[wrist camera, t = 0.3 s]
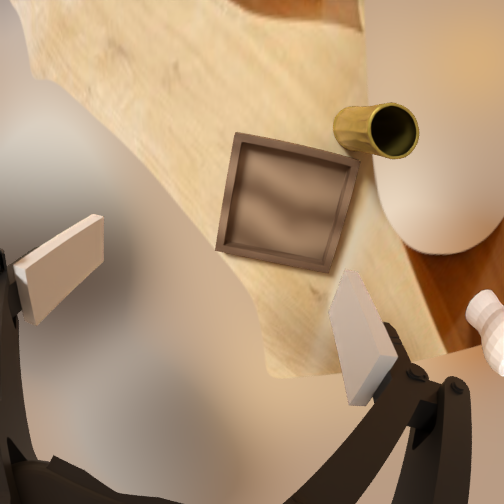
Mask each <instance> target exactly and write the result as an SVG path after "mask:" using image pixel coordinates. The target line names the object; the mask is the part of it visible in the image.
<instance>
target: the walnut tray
mask: <svg viewBox="0 0 504 504" xmlns="http://www.w3.org/2000/svg"><path fill="white" fill-rule="evenodd" d="M359 165H360V161H359V160H357V159H354V158H350V157H347V156H343V155H339V154H335V153H332V152H328V151H324V150H320V149H316V148H312V147H307V146H303V145H299V144H294V143H290V142H285V141H280V140H276V139H271V138H266V137H260V136H255V135H250V134H244V133H238V132H236V133H235V135H234V141H233V146H232V152H231V157H230V163H229V168H228V174H227V180H226V186H225V192H224V198H223V204H222V210H221V216H220V222H219V229H218V235H217V242H216V248H215V251H220V252H224V253H229V254H234V255H239V256H244V257H249V258H254V259H259V260H264V261H269V262H274V263H279V264H284V265H289V266H294V267H299V268H304V269H309V270H314V271H319V272H324V273H329V270H330V267H331V264H332V261H333V258H334V254H335V251H336V248H337V245H338V241H339V238H340V235H341V231H342V228H343V224H344V221H345V218H346V214H347V210H348V207H349V203H350V200H351V196H352V192H353V188H354V185H355V181H356V177H357V173H358V169H359Z"/></svg>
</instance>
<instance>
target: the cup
mask: <svg viewBox="0 0 504 504" xmlns="http://www.w3.org/2000/svg"><path fill="white" fill-rule="evenodd" d="M466 320H467V321H468V322H469V323H470V324H471V325H472V326H473V327H474V328H475V329H477V330H478V332H479V334H480V336H481V341H482V349H483V353H484V356H485V359H486V361H487V362H488V364H489V365H490V367H491V368H492V369H493V370H494V371H496V372H497V373H498V374H499V375H501V376H504V305H502V304H501V303H500V301H499V300H498V298H497V297H496V295H495V294H494V292H492V291H491V290H483V291H481V292H479V293H478V294H477V295H476V296H475V297H474V298H473V299H472V300H471V301H470V303H469V305H468V307H467V310H466Z"/></svg>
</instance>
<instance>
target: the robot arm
mask: <svg viewBox="0 0 504 504" xmlns="http://www.w3.org/2000/svg"><path fill="white" fill-rule="evenodd" d="M103 232H104V216H99V215H95V214H92V215H90V216H89V217H87V218H85V219H83V220H82V221H80V222H78V223H77V224H75V225H73V226H72V227H70V228H68V229H67V230H65V231H63V232H62V233H61V234H59V235H57V236H55V237H54V238H53V239H51V240H49V241H48V242H46V243H44V244H43V245H41V246H39V247H36V248H34V249H32V250H31V251H29V252H28V253H27V254H25V255H23V256H22V257H20V258H19V259H17V260H16V261H15V262H13V263H12V264H10V265H9V266H6V260H5V254H4V250H3V249H0V504H181V503H178V502H174V501H170V500H166V499H163V498H159V497H147V496H137V495H128V494H121V493H117V492H115V491H113V490H112V489H110V488H109V487H107V486H106V485H104V484H103V483H101V482H100V481H98V480H97V479H96V478H94V477H93V476H91V475H90V474H89V473H87V472H86V471H85V470H82V469H80V468H78V467H76V466H74V465H72V464H70V463H68V462H66V461H64V460H62V459H59V458H58V457H56V456H53V457H52V459H51V461H50V462H48V461H41V460H38V459H37V457H36V455H35V453H34V450H33V447H32V444H31V439H30V434H29V429H28V423H27V418H26V411H25V405H24V398H23V389H22V380H21V369H20V354H19V320H18V316H17V314H18V313H19V312H20V311H21V310H22V312H23V316H24V320H25V321H26V322H28V323H30V324H33V325H35V326H37V325H38V324H39V323H40V322H41V321H42V320H43V319H44V318H45V317H46V316H47V315H48V314H49V313H50V312H51V311H52V310H53V309H54V308H55V307H56V306H57V305H58V304H59V303H60V302H61V301H62V300H63V299H64V298H65V297H66V296H67V295H68V294H69V293H70V292H71V291H72V290H73V289H74V288H75V287H76V286H77V285H79V284H80V283H81V282H82V281H83V280H84V279H85V278H86V277H87V276H88V275H89V274H90V273H91V272H92V271H94V269H96V268H97V267H98V266H99V265H100V264H101V263H102V262H103V261H104V257H103ZM328 313H329V317H330V321H331V325H332V330H333V334H334V338H335V342H336V347H337V351H338V356H339V360H340V365H341V369H342V374H343V379H344V383H345V388H346V393H347V398H348V403H349V405H353V406H354V405H355V406H366V405H367V404H368V402H369V401H370V399H371V398H372V397H373V399H374V403H375V404H374V405H373V407H372V408H371V409H370V410H369V412H368V413H367V414H366V416H365V417H364V418H363V419H362V421H361V422H360V423H359V424H358V426H357V427H356V428H355V429H354V430H353V432H352V433H351V434H350V435H349V436H348V438H347V439H346V440H345V441H344V442H343V444H342V445H341V446H340V447H339V448H338V449H337V450H336V452H335V453H334V454H333V455H332V456H331V457H330V458H329V459H328V460H327V462H325V463H324V465H323V466H322V467H321V468H320V469H319V470H318V471H317V472H316V473H315V474H314V475H313V476H312V477H311V478H310V479H309V480H308V481H307V482H306V483H305V484H304V485H303V486H302V487H301V488H300V489H299V490H298V491H297V492H296V493H294V494H293V495H292V496H291V497H290V498H289V499H288V500H286V502H284V503H283V504H355V503H356V502H357V501H358V499H359V498H360V497H361V496H362V494H363V493H364V491H365V490H366V489H367V487H368V486H369V485H370V483H371V482H372V480H373V479H374V478H375V476H376V475H377V473H378V472H379V470H380V469H381V467H382V466H383V464H384V463H385V461H386V460H387V458H388V456H389V455H390V453H391V452H392V450H393V448H394V446H395V445H396V443H397V442H398V440H399V438H400V437H401V435H402V433H403V431H404V429H405V428H406V426H409V427H411V428H410V434H409V438H408V443H407V448H406V452H405V457H404V461H403V465H402V469H401V473H400V477H399V480H398V484H397V487H396V491H395V494H394V497H393V500H392V503H391V504H468V497H469V487H470V474H471V455H472V426H471V425H472V423H471V401H470V391H469V388H468V386H467V385H466V383H465V382H463V380H461V379H459V378H457V377H454V376H450V377H447V378H446V379H445V381H444V382H443V383H442V384H439V383H436V382H433V381H430V380H429V377H428V375H427V373H426V372H425V370H424V369H423V368H421V367H420V366H418V365H416V364H414V363H411V361H410V359H409V357H408V355H407V352H406V350H405V348H404V346H403V345H402V342H401V340H400V339H399V336H398V334H397V332H396V330H395V329H394V328H393V327H392V326H391V325H390V324H389V323H387V322H382V320H381V318H380V316H379V313H378V311H377V309H376V307H375V305H374V303H373V301H372V299H371V297H370V295H369V293H368V291H367V289H366V287H365V285H364V283H363V281H362V279H361V277H360V275H359V273H358V272H357V271H352V270H348V269H345V270H344V272H343V275H342V278H341V281H340V283H339V286H338V289H337V291H336V294H335V297H334V299H333V302H332V304H331V307H330V309H329V312H328Z"/></svg>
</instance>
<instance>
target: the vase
mask: <svg viewBox="0 0 504 504" xmlns="http://www.w3.org/2000/svg"><path fill="white" fill-rule="evenodd" d="M333 132H334V135H335V138H336V139H337V141H338V142H339V144H340V145H342V146H343V147H344V148H346V149H348V150H351V151H361V152H365V153H369V154H374V155H379V156H382V157H385V158H389V159H401V158H404V157H406V156H408V155H409V154H410V153H411V152H412V151H413V150H414V148H415V147H416V145H417V143H418V139H419V127H418V123H417V120H416V118H415V116H414V115H413V114H412V113H411V112H410V111H409V110H408V109H407V108H406V107H404V106H402V105H399V104H396V103H392V102H391V103H386V104H379V105H374V106H368V107H356V106H352V107H347V108H344V109H343V110H341V111H340V112H339V113H338V114H337V116H336V117H335V120H334V124H333Z"/></svg>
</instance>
